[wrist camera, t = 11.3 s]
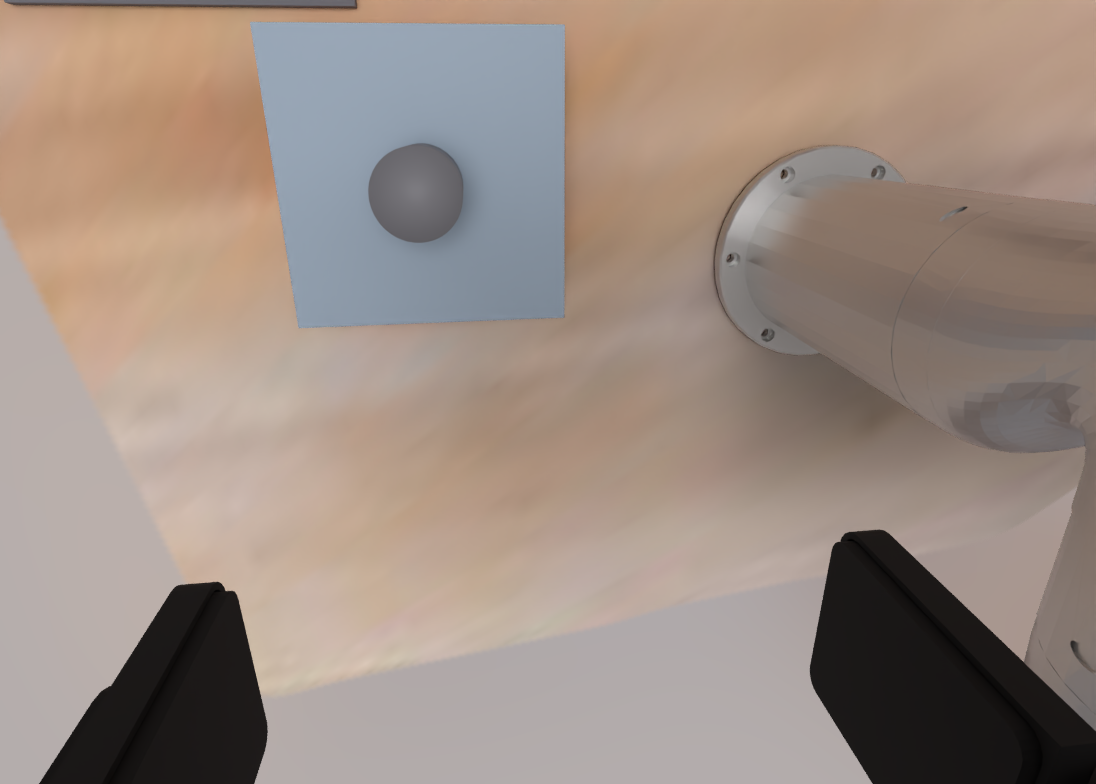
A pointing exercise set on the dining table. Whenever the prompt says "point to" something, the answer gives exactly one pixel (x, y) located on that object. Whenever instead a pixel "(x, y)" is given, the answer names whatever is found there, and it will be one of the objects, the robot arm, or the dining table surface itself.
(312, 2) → the mat
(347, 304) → the lid
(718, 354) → the dining table surface
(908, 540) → the dining table surface
